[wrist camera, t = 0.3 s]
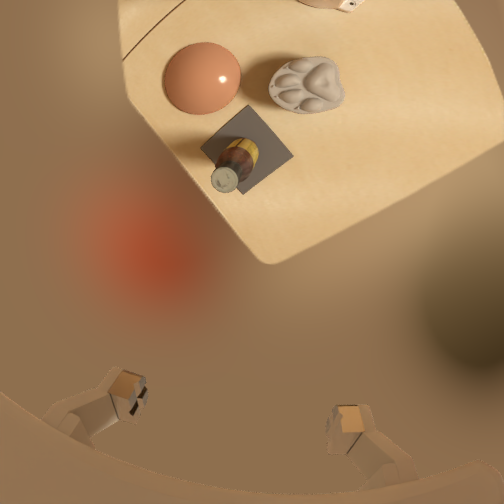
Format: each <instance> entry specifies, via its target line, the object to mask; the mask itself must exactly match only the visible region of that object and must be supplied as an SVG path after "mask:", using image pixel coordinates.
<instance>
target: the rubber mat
mask: <svg viewBox="0 0 504 504" xmlns="http://www.w3.org/2000/svg"><path fill="white" fill-rule="evenodd" d="M240 138H247V139H250V140H252V141H254V142H255V144H256V146H257V148H258V151H259V155H258V159H257V161H256V163H255V166H254V168H253V170H252V172H251V174H250V176H249V177H248V178H247V179H246V180H244V181H243V182H240V183H239V184H238V186H237V188H238V189H239V191H240V192H241V193H242V194H245V193H246V192H247V191H249V190H250V189H251V188H252V187H254V186H255V185H256V184H258V183H259V182H260V181H262V180H263V179H264V178H265V177H267V176H268V175H269V174H271V173H272V172H273V171H275V170H276V169H277V168H279V167H280V166H281V165H283V164H284V163H285V162H287V161H288V160H290V159H291V158H292V157H294V156H293V155H292V154H291V152H290V151H289V150H288V149H287V148H286V146H285V145H284V144H283V143H282V142H281V141H280V139H279V138H278V137H277V136H276V135H275V134H274V132H273V131H272V130H271V129H270V128H269V127H268V126H267V124H266V123H265V122H264V121H263V120H262V119H261V118H260V117H259V116H258V114H257V113H256V112H255V111H254V110H253V109H252V108H251V107H250V106H249V105H248V106H247V107H246V108H244V109H243V110H242V111H241V112H240V113H239V114H237V115H236V116H235V117H234V118H233V119H232V120H230V121H229V122H228V123H227V124H226V125H225V126H224V127H223V128H221V129H220V130H219V131H218V132H217V133H216V134H215V135H214V136H213V137H212V138H210V139H209V140H208V141H207V142H206V143H205V144H204V145H203V146H202V147H201V150H202V151H203V152H204V153H205V154H206V155H207V156H208V157H209V158H210V159H211V160H212V161H213V162H214V163H215V164H216V163H217V160H218V158H219V156H220V155H221V153H222V152H223V151H224V150H225V149H226V148H227V147H228V146H229V145H230V144H231V143H232V142H233V141H235V140H237V139H240Z"/></svg>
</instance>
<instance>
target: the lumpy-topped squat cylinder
mask: <svg viewBox="0 0 504 504" xmlns="http://www.w3.org/2000/svg"><path fill="white" fill-rule="evenodd" d="M268 91H269V95H270V97H271V99H272V100H273V101H274V102H275V103H276V104H277V105H279V106H280V107H282V108H284V109H286V110H288V111H291V112H295V113H298V114H312V113H319V112H324V111H328V110H332V109H335V108H337V107H339V106H340V105H341V104H342V103H343V101H344V99H345V92H344V89H343V86H342V84H341V81H340V73H339V68H338V66H337V64H336V63H335V62H334V61H333V60H331V59H329V58H326V57H306V58H301V59H296V60H292V61H289V62H287V63H286V64H284V65H283V66H282V67H280V68H279V69H278V70H277V71H276V72H275V73H274V75H273V76H272V78H271V80H270V83H269V87H268Z"/></svg>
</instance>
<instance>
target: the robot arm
mask: <svg viewBox="0 0 504 504" xmlns="http://www.w3.org/2000/svg"><path fill="white" fill-rule="evenodd" d="M298 1H300V2H302V3H304V4H306V5H309V6H313V7H318V8H334V9H338V10H341V11H343V12H347V13H351V12H353V11H354V10H355V9H356V8H357V7H359V6H360V5H361V4H362V3H363V2H364V1H365V0H298ZM350 3H352V4H353V5H350ZM145 384H146V378H145V377H144V376H142V375H139V374H136V373H133V372H129V371H127V370H123V369H121V368H118V367H113V368H111V369H110V371H109V372H108V374H107V375H106V376H105V378H104V379H103V381H102V382H101V383H100V385H99V386H98V388H97V389H96V388H92V389H89V390H87V391H85V392H82V393H79V394H77V395H74V396H71V397H69V398H66V399H63V400H61V401H58V402H55V403H54V404H53V405H52V406H51V407H50V409H49V410H48V411H47V413H46V414H45V415H44V417H43V418H42V419H41V420H40V419H38V418H37V417H35V416H34V415H32V414H31V413H29V412H27V411H26V410H25V409H23V408H22V407H20V406H19V405H17V404H16V403H15V402H13V401H12V400H11V399H10V398H8V397H7V396H6V395H4V394H3V393H2V392H1V391H0V504H504V482H503V479H502V477H501V474H500V473H499V471H498V470H496V469H495V468H493V467H492V466H490V465H489V464H487V463H485V462H483V461H481V460H475V461H472V462H470V463H467V464H464V465H462V466H459V467H456V468H454V469H451V470H448V471H445V472H442V473H439V474H435V475H432V476H429V477H425V478H422V479H419V477H418V474H417V470H416V467H415V464H414V461H413V458H411V457H410V456H409V455H408V454H406V453H405V452H404V451H403V450H402V449H400V448H399V447H398V446H397V445H396V444H394V443H393V442H392V441H391V440H390V439H388V438H387V437H386V436H385V435H384V434H382V433H381V432H380V431H377V430H376V427H375V423H374V420H373V417H372V414H371V411H370V407H369V405H335V406H334V407H333V409H332V413H333V414H332V415H330V416H329V417H328V419H327V422H326V436H327V437H328V438H329V441H328V442H327V447H328V454H329V455H342V454H343V455H346V454H347V457H348V458H349V459H350V460H351V462H352V463H353V464H354V465H355V466H356V468H357V469H358V470H359V471H360V472H361V474H362V475H363V476H364V477H365V478H366V479H367V482H365V483H364V484H363V486H361V487H360V488H359V489H358V491H352V492H341V493H328V494H274V493H260V492H249V491H241V490H233V489H226V488H220V487H214V486H209V485H203V484H198V483H193V482H189V481H185V480H181V479H177V478H173V477H170V476H166V475H163V474H159V473H156V472H152V471H149V470H146V469H143V468H140V467H137V466H134V465H132V464H129V463H126V462H124V461H121V460H119V459H116V458H113V457H111V456H109V455H106V454H104V453H102V452H100V451H97V450H95V446H94V444H93V442H92V440H91V439H90V437H92V436H93V435H95V434H97V433H98V432H100V431H102V430H103V429H105V428H107V427H108V426H110V425H112V424H113V423H115V422H117V421H118V419H119V420H122V421H125V422H128V423H131V424H134V425H136V423H137V421H138V419H139V417H140V415H141V413H140V409H143V408H144V407H145V405H146V403H147V399H148V389H147V388H146V387H145Z"/></svg>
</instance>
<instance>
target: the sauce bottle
mask: <svg viewBox="0 0 504 504" xmlns="http://www.w3.org/2000/svg"><path fill="white" fill-rule="evenodd" d="M258 155H259V151H258V148H257V146H256V144H255V142H254V141H252V140H250V139H247V138H240V139H237V140H235V141H233V142H232V143H231V144H230V145H229V146H228V147H227V148H226V149H225V150H224V151H223V152H222V153H221V155H220V156H219V158H218V160H217V163H216V165H215V167H216V169H215V170H214V171H213V173H212V176H211V182H212V185H213V187H214V188H215V189H216V190H218V191H219V192H222V193H229V192H231V191H233V190H235V188H236V187H237V186H238V184H239V183H240V182H243V181H244V180H246V179H247V178H248V177H249V176H250V174H251V172H252V170H253V168H254V166H255V163H256V161H257V159H258Z"/></svg>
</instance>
